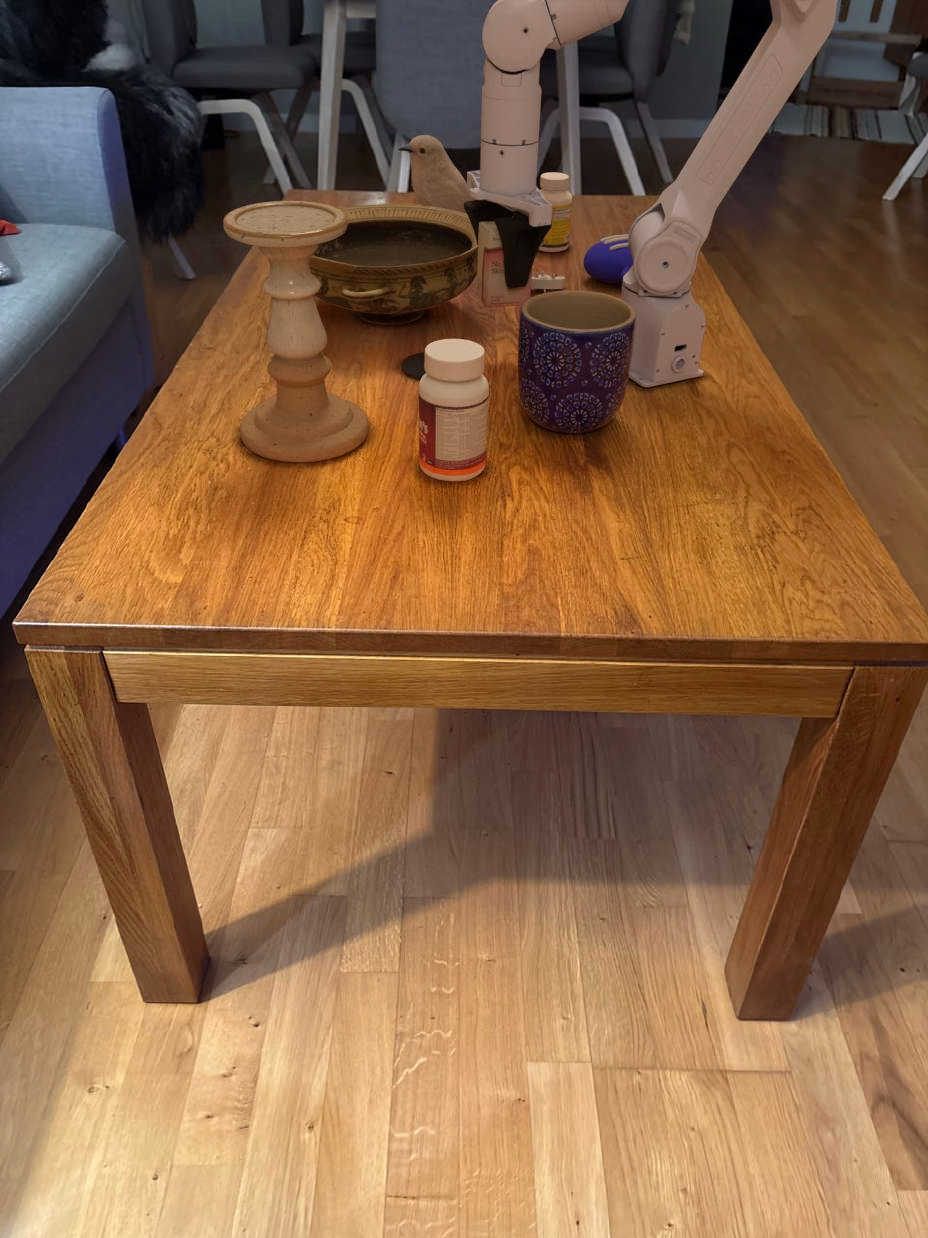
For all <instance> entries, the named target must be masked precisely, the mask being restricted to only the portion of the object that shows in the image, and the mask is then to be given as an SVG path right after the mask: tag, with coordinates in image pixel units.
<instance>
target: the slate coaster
mask: <svg viewBox="0 0 928 1238" xmlns="http://www.w3.org/2000/svg"><path fill="white" fill-rule="evenodd" d="M424 362H425V351H420V352H416V353H413V354H410V355H407V356H406V357H404V359H403V360H402V362H401V370H402V372H403V373H404V374H405V375H407V376H408V377H410V378H412V379H416V380H419V381H420V380H421V378H422V377H423V376H424V374H426V371H425V369H424Z"/></svg>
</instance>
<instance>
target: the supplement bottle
mask: <svg viewBox="0 0 928 1238" xmlns="http://www.w3.org/2000/svg"><path fill="white" fill-rule="evenodd" d="M569 182H570V176H569V175H568V174H566V173H564V172H556V171H554V172H552V171H551V172H550V171H549V172H544V173H542V174H541V175H540V177H539V187H540V188H541V189H539V190H540V192H541V193H542V195H543V197H544V198H545V200H546V201H548V202H549V203H551V204H552V218H551V220H552V227H551V229H550V230H549V232H548V233H547V235H546V236H545V238H544V239H543V241H542V243H541V245H540V247H539V249H538V251H541V252H545V253H559V252H563V251H566V250H567V249H568V248H569V246H570V236H571V235H570V234H571V224H572V223H571V222H572V211H573V210H572V209H573V195H572V194H571V191H568V190H567V189H569V185H570V184H569Z"/></svg>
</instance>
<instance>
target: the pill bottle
mask: <svg viewBox="0 0 928 1238" xmlns="http://www.w3.org/2000/svg"><path fill="white" fill-rule="evenodd" d="M424 352H425V362H424V369H425V371H426V374H424V376H423V377H422V378H421V380H419V382H418V461H419V462H418V463H419V467H420V469H421V470H422V472H423V473H424V474H425V475H427V476H428V477H431V478H433V479H434V480H438V481H443V482H465V481H469V480H472V479H474V478H476V477H477V476H478V475H480V474H481V473H482V472H483V471H484V470H485V468H486V463H487V446H488V445H487V444H488V443H487V442H488V419H489V396H490V385H489V382H488V379H487V378H486V377H485V375H484V374H483V373H485V366H486V365H485V360H486V359H485V356H486V352H485V348H484V347H483V345H481V344H479V343H477V342H475V341H472V340H469V339H464V338H463V339H461V338H442V339H438V340H434V341H432V342H430V343H429V344H427V345H426V347H425V348H424Z"/></svg>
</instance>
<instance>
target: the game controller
mask: <svg viewBox="0 0 928 1238" xmlns="http://www.w3.org/2000/svg"><path fill="white" fill-rule="evenodd" d="M565 284H566V277H565V276H556V273H555V272H553V273H552V277H551V276H550V275H548V274H547V273H545V270H541V273H540V272H538V271H536V272H535V276H533V275H532V277H531V289H535V290H543V291H544V293H547V291H546V290H562V289H564V288H565Z"/></svg>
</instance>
